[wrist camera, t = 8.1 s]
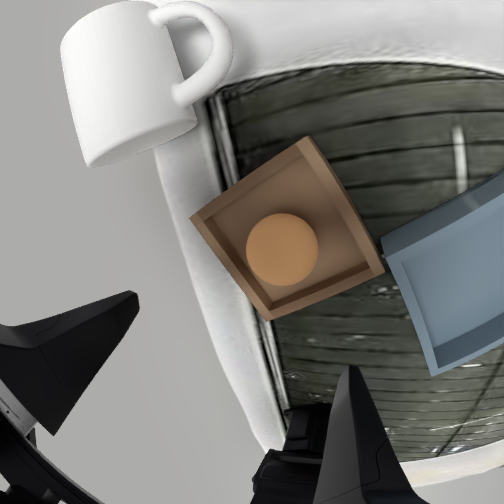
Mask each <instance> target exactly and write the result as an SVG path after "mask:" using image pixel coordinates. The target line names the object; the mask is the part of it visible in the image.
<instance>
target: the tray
mask: <svg viewBox="0 0 504 504" xmlns="http://www.w3.org/2000/svg"><path fill="white" fill-rule="evenodd" d="M279 213H285V214H292V215H295V216H297V217H299V218H301V219H303V220H304V221H305V222H306V223H307V224H308V225H309V226H310V227H311V228H312V230H313V231H314V233H315V235H316V238H317V241H318V248H319V251H318V258H317V262H316V264H315V266H314V268H313V270H312V271H311V272H310V274H309V275H308V276H307V277H306V278H304V279H303V280H302V281H300V282H298V283H295V284H293V285H288V286H277V285H272V284H269V283H267V282H265V281H263V280H262V279H260V278H259V277H258V276H257V275H256V274H255V273H254V272H253V270H252V269H251V267H250V265H249V263H248V260H247V255H246V244H247V240H248V237H249V234H250V232H251V231H252V229H253V228H254V226H255V225H256V224H257V223H258V222H259V221H261V220H262V219H264V218H266V217H267V216H270V215H273V214H279ZM189 219H190V220H191V222H192V223H193V224H194V226H195V227H196V228H197V230H198V231H199V233H200V234H201V235H202V237H203V238H204V239H205V241H206V242H207V244H208V245H209V246H210V248H211V249H212V250H213V252H214V253H215V254H216V256H217V257H218V259H219V260H220V261H221V263H222V264H223V265H224V267H225V268H226V269H227V271H228V272H229V273H230V275H231V276H232V277H233V279H234V280H235V281H236V283H237V284H238V285H239V287H240V288H241V289H242V291H243V292H244V293H245V294H246V296H247V297H248V298H249V300H250V301H251V302H252V304H253V305H254V306H255V308H256V309H257V310H258V311H259V313H260V314H261V315H262V317H263V318H264V319H265V320H266V322H267V321H270V320H272V319H275V318H278V317H280V316H283V315H286V314H288V313H291V312H294V311H296V310H299V309H301V308H304V307H306V306H309V305H311V304H314V303H316V302H319V301H321V300H324V299H326V298H328V297H331V296H333V295H336V294H338V293H340V292H343V291H345V290H347V289H350V288H352V287H354V286H356V285H359V284H361V283H363V282H365V281H368V280H370V279H372V278H374V277H376V276H378V275H381V274H383V273H385V268H384V264H383V259H382V256H381V254H380V252H379V250H378V248H377V246H376V244H375V242H374V240H373V238H372V236H371V234H370V233H369V231H368V229H367V227H366V225H365V223H364V221H363V220H362V218H361V216H360V214H359V212H358V210H357V209H356V207H355V205H354V203H353V202H352V200H351V198H350V196H349V195H348V193H347V191H346V190H345V188H344V186H343V185H342V183H341V181H340V180H339V178H338V176H337V175H336V173H335V172H334V170H333V168H332V167H331V165H330V164H329V162H328V161H327V159H326V158H325V156H324V154H323V153H322V151H321V150H320V148H319V147H318V145H317V144H316V142H315V141H314V140H313V138H312V137H311V135H308V136H306V137H304V138H303V139H301V140H299V141H298V142H296V143H295V144H293V145H292V146H290V147H289V148H287V149H286V150H284V151H283V152H281V153H279V154H278V155H276V156H275V157H273V158H272V159H271V160H269V161H268V162H266V163H265V164H263V165H262V166H260V167H259V168H257V169H256V170H254V171H253V172H251V173H250V174H249V175H247V176H246V177H244V178H243V179H242V180H240V181H239V182H237V183H236V184H234V185H233V186H232V187H230V188H229V189H228V190H226V191H225V192H223V193H222V194H221V195H219V196H218V197H217V198H215V199H214V200H212V201H211V202H210V203H208V204H207V205H206V206H204V207H203V208H202V209H200V210H199V211H198V212H196V213H195V214H194V215H193V216H191V217H190V218H189Z"/></svg>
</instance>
